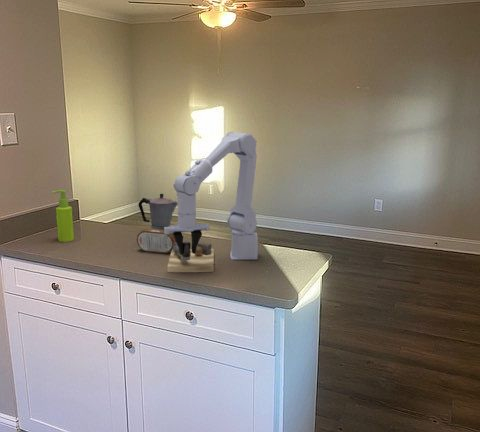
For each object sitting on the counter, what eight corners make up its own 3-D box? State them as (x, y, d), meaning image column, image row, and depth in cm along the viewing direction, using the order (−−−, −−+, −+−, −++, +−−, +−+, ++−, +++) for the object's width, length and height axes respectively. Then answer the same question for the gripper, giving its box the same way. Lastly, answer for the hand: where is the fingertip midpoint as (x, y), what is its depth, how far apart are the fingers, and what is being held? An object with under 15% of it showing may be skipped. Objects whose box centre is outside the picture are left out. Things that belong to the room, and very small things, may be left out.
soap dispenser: (55, 239, 197) (51, 189, 193) (73, 237, 200) (69, 188, 196) (56, 242, 192) (52, 192, 188) (74, 240, 195) (71, 191, 190)
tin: (177, 252, 181) (176, 230, 179) (173, 255, 178) (173, 232, 176) (140, 249, 185) (139, 227, 183) (136, 251, 182) (135, 229, 180)
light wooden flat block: (172, 254, 179) (171, 239, 178) (213, 254, 180) (213, 239, 179) (167, 272, 161) (167, 256, 159) (213, 271, 162) (213, 255, 160)
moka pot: (177, 248, 187) (176, 196, 182) (136, 247, 187) (134, 195, 182) (180, 241, 196) (179, 191, 191) (142, 240, 196) (140, 191, 192)
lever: (170, 250, 176) (170, 230, 175) (182, 249, 178) (182, 229, 176) (180, 265, 160) (180, 244, 158) (193, 264, 161) (193, 243, 160)
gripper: (167, 217, 152) (168, 259, 155) (212, 213, 157) (212, 254, 160) (162, 212, 158) (163, 252, 162) (205, 209, 163) (206, 248, 166)
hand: (187, 253), depth 161 cm, fingers open, 3 cm apart
